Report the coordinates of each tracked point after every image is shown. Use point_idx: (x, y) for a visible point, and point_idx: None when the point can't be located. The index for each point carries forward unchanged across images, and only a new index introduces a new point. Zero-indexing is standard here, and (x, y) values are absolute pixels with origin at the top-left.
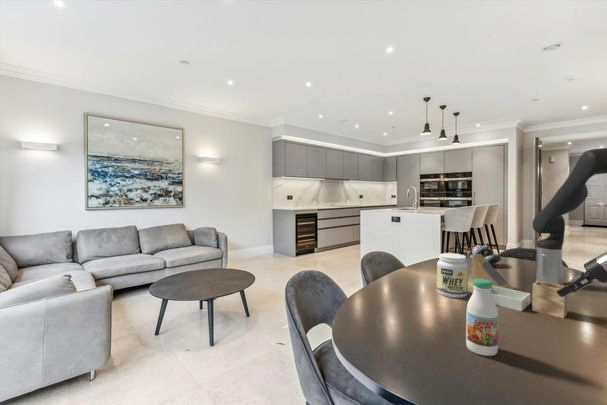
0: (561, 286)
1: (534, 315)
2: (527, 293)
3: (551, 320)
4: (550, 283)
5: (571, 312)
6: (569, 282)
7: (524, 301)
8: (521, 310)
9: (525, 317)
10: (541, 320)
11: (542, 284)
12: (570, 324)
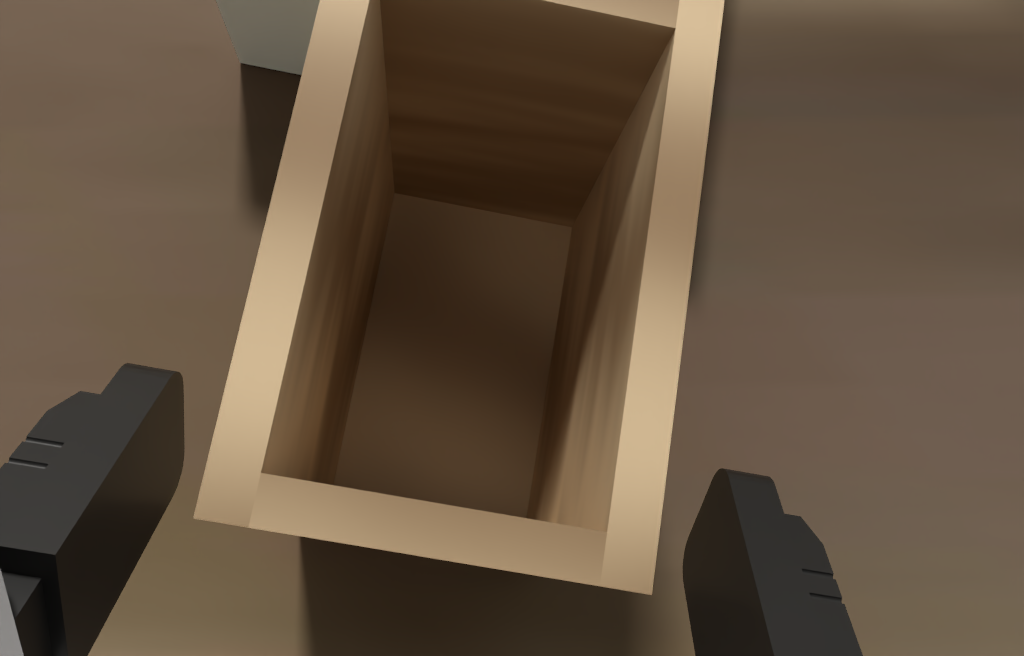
0: (615, 463)
1: (173, 199)
2: None
3: (95, 382)
4: (683, 244)
5: (634, 614)
6: (760, 644)
7: None
8: (240, 55)
9: (17, 106)
10: (15, 274)
11: (650, 120)
12: None
